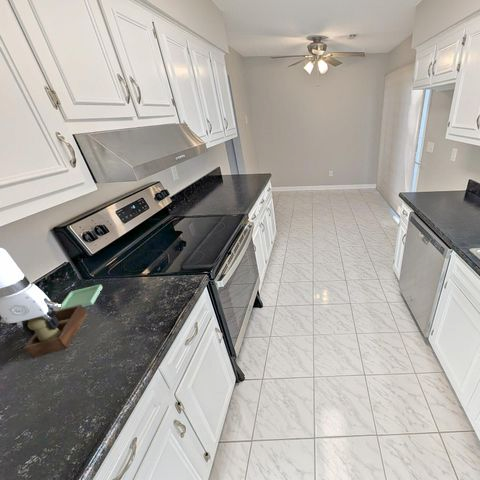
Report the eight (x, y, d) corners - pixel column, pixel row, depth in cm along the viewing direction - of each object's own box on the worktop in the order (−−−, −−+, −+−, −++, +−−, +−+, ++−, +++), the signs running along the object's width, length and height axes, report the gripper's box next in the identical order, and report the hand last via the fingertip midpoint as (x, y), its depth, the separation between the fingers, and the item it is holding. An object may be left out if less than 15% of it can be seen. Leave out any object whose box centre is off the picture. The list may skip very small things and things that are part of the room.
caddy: (33, 358, 82) (23, 348, 80) (58, 321, 97) (51, 311, 94) (67, 348, 85) (59, 338, 83) (87, 313, 99) (81, 304, 97)
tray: (59, 313, 101) (56, 309, 100) (72, 294, 111) (70, 291, 110) (92, 304, 104) (90, 301, 103) (102, 287, 114) (100, 284, 113)
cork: (64, 343, 86) (46, 319, 81) (40, 352, 84) (20, 328, 78) (67, 331, 91) (50, 309, 86) (45, 340, 88) (26, 317, 83)
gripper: (-38, 303, 70) (4, 347, 79) (40, 286, 75) (71, 329, 84) (-18, 287, 76) (19, 330, 85) (52, 272, 81) (80, 314, 90)
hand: (44, 329), depth 84 cm, fingers closed on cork, 5 cm apart
